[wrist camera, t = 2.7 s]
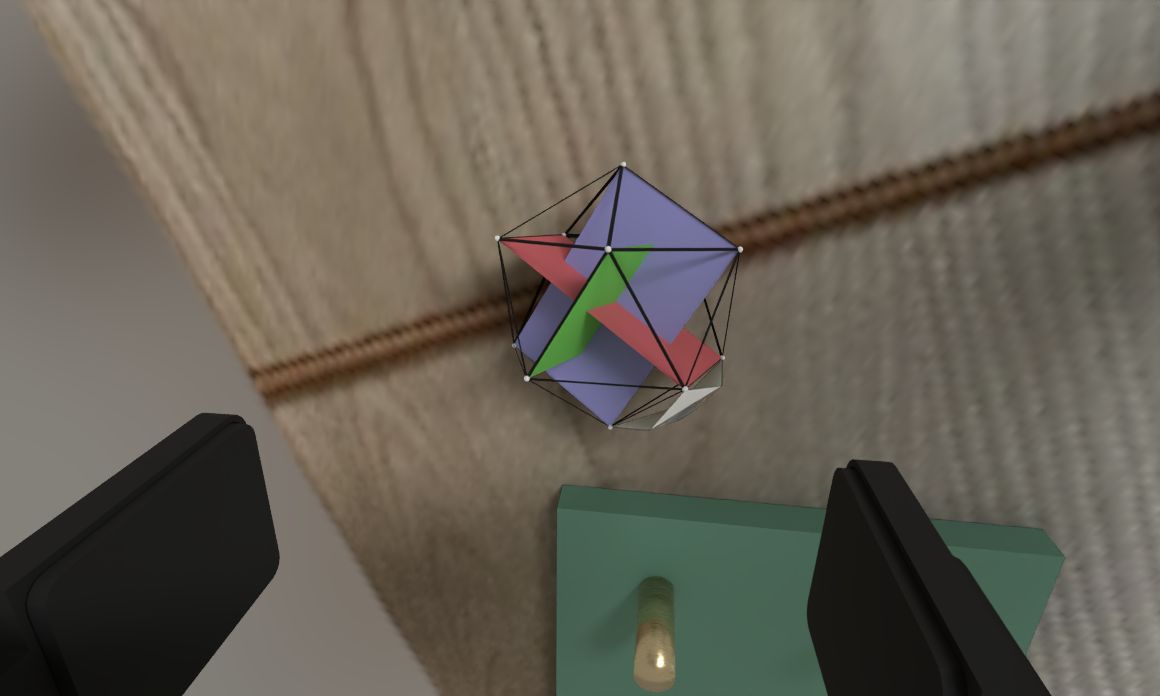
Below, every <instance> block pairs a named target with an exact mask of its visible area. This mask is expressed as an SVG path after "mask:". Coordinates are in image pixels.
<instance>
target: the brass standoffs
mask: <svg viewBox="0 0 1160 696" xmlns="http://www.w3.org/2000/svg"><path fill="white" fill-rule="evenodd" d="M634 680H635V682H636V683H637V684H638V685H639V686H640V687H641V688H643V689H645V690H647V691H651V692H662V691H666V690H668V689H670V688H671V687H672V686H673V685H674V683H675V605H674V587H673V585H672V583H671V582H670V581H669V580H667V579H665V578H663V577H659V576H651V577H648V578H646V579H644V580H643V581H642V582H641V583H640V585H639V593H638V610H637V627H636V644H635V660H634Z"/></svg>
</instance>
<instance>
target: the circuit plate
mask: <svg viewBox="0 0 1160 696" xmlns="http://www.w3.org/2000/svg"><path fill="white" fill-rule="evenodd" d="M825 514H826V509H818V508H807V507H796V506H786V505H775V504H764V503H753V502H742V501H732V500H721V499H710V498H699V497H688V496H678V495H667V494H656V493H645V492H634V491H624V490H613V489H602V488H591V487H581V486H570V485H563V487H562V491H561V495H560V499H559V503H558V507H557V640H556V696H828V695H827V691H826V688H825V684H824V681H823V677H822V674H821V670H820V667H819V663H818V660H817V656H816V653H815V649H814V646H813V643H812V639H811V636H810V632H809V628H808V623H807V602H808V597H809V592H810V587H811V583H812V578H813V573H814V568H815V563H816V558H817V553H818V548H819V544H820V539H821V534H822V529H823V524H824V519H825ZM930 521H931V522H932V524H933V525H934V527H935V528H936V530H937V532H938V533H939V535H940V536H941V538H942V539H943V541H944V543H945V544H946V546H947V547H948V549H949V550H950V552H951V553H952V555H953V556H955V557H957V558H959V559H960V560H961V561H962V562H963V563H964V564H965V565H966V566H967V568H968V569H969V571H970V572H971V574H972V575H973V577H974V578H975V580H976V581H977V583H978V584H979V586H980V588H981V589H982V591H983V592H984V594H985V595H986V597H987V598H988V600H989V601H990V603H991V604H992V606H993V607H994V609H995V610H996V612H997V613H998V615H999V616H1000V618H1001V620H1002V621H1003V623H1004V624H1005V626H1006V627H1007V629H1008V630H1009V632H1010V633H1011V635H1012V636H1013V638H1014V639H1015V641H1016V642H1017V644H1018V645H1019V647H1020V649H1021V650H1022V652H1023V653H1024V655H1026V652H1027V650H1028V648H1029V645H1030V643H1031V640H1032V638H1033V635H1034V633H1035V630H1036V628H1037V626H1038V623H1039V621H1040V618H1041V616H1042V613H1043V611H1044V608H1045V606H1046V604H1047V601H1048V599H1049V596H1050V594H1051V591H1052V589H1053V586H1054V584H1055V582H1056V579H1057V577H1058V574H1059V572H1060V569H1061V567H1062V564H1063V562H1064V560H1065V556H1064V555H1063V554H1062V552H1061V551H1060V550H1059V549H1058V548H1057V546H1056V545H1055V544H1054V543H1053V542H1052V540H1051V539H1050V538H1049V537H1048V536H1047V534H1046V533H1045V532H1044V531H1043V529H1034V528H1023V527H1012V526H1001V525H990V524H980V523H969V522H958V521H947V520H937V519H930ZM651 576H659V577H663V578H665V579H667V580H669V581H670V582H671V583H672V585H673V587H674V605H675V683H674V685H673V686H672V687H671V688H670V689H668V690H666V691H662V692H651V691H647V690H645V689H643V688H641V687H640V686H639V685H638V684H637V683H636V682H635V680H634V660H635V644H636V627H637V610H638V593H639V585H640V583H641V582H642V581H643V580H644V579H646V578H648V577H651Z"/></svg>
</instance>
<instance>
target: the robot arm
mask: <svg viewBox="0 0 1160 696" xmlns="http://www.w3.org/2000/svg"><path fill="white" fill-rule="evenodd" d="M279 558H280V557H279V550H278V544H277V540H276V535H275V530H274V525H273V520H272V515H271V510H270V505H269V500H268V495H267V491H266V485H265V480H264V475H263V470H262V466H261V461H260V456H259V451H258V446H257V441H256V436H255V432H254V429H253V428H252V427H251V426H250V425H247V424H246V422H245V421H244V419H243V418H242V417H240V416H238V415H230V414H215V413H201V414H199V415H197V416H195V417H194V418H193V419H192V420H190V421H189V422H187V423H186V424H184V425H183V426H182V427H180V428H179V429H177V430H176V431H175V432H173V433H172V434H170V435H169V436H168V437H166V438H165V439H163V440H162V441H161V442H159V443H158V444H157V445H155V446H154V447H153V448H151V449H150V450H148V451H147V452H145V453H144V454H143V455H141V456H140V457H139V458H137V459H136V460H134V461H133V462H132V463H130V464H129V465H127V466H126V467H125V468H123V469H122V470H121V471H119V472H118V473H116V474H115V475H114V476H112V477H111V478H110V479H108V480H107V481H105V482H104V483H102V484H101V485H100V486H98V487H97V488H96V489H94V490H93V491H91V492H90V493H89V494H87V495H86V496H85V497H83V498H82V499H80V500H79V501H78V502H77V503H75V504H73V505H72V506H71V507H69V508H68V509H67V510H65V511H64V512H62V513H61V514H59V515H58V516H57V517H55V518H54V519H53V520H51V521H50V522H48V523H47V524H46V525H44V526H43V527H41V528H40V529H39V530H37V531H36V532H34V533H33V534H32V535H30V536H29V537H28V538H26V539H25V540H23V541H22V542H21V543H19V544H18V545H17V546H15V547H14V548H12V549H11V550H10V551H8V552H7V553H5V554H4V555H3V556H1V557H0V696H182V695H183V694H184V693H185V691H186V690H187V689H188V687H189V686H190V685H191V684H192V682H193V681H194V680H195V678H196V677H197V676H198V674H199V673H200V672H201V670H202V669H203V668H204V667H205V665H206V664H207V663H208V662H209V660H210V659H211V658H212V656H213V655H214V654H215V652H216V651H217V650H218V649H219V647H220V646H221V645H222V643H223V642H224V641H225V639H226V638H227V637H228V636H229V634H230V633H231V632H232V630H233V629H234V628H235V627H236V625H237V624H238V623H239V621H240V620H241V618H243V616H244V615H245V614H246V612H247V611H248V610H249V608H250V607H251V606H252V605H253V603H254V602H255V601H256V599H257V598H258V597H259V595H260V594H261V593H262V592H263V590H264V589H265V588H266V586H267V585H268V584H269V582H270V581H271V580H272V579H273V577H274V575H275V574H276V571H277V569H278V565H279ZM807 623H808V628H809V632H810V636H811V639H812V643H813V646H814V649H815V653H816V656H817V660H818V663H819V667H820V670H821V674H822V677H823V681H824V684H825V688H826V691H827V695H828V696H1051V694H1050V693H1049V691H1048V690H1047V688H1046V687H1045V685H1044V684H1043V682H1042V681H1041V679H1040V677H1039V676H1038V674H1037V673H1036V671H1035V670H1034V668H1033V667H1032V665H1031V664H1030V662H1029V661H1028V659H1027V658H1026V656H1025V655H1024V653H1023V652H1022V650H1021V649H1020V647H1019V645H1018V644H1017V642H1016V641H1015V639H1014V638H1013V636H1012V635H1011V633H1010V632H1009V630H1008V629H1007V627H1006V626H1005V624H1004V623H1003V621H1002V620H1001V618H1000V616H999V615H998V613H997V612H996V610H995V609H994V607H993V606H992V604H991V603H990V601H989V600H988V598H987V597H986V595H985V594H984V592H983V591H982V589H981V588H980V586H979V584H978V583H977V581H976V580H975V578H974V577H973V575H972V574H971V572H970V571H969V569H968V568H967V566H966V565H965V564H964V563H963V562H962V561H961V560H960V559H959V558H957V557H955V556H953V555H952V553H951V552H950V550H949V549H948V547H947V546H946V544H945V543H944V541H943V539H942V538H941V536H940V535H939V533H938V532H937V530H936V528H935V527H934V525H933V524H932V522H931V521H930V519H929V518H928V516H927V514H926V513H925V511H924V510H923V508H922V507H921V505H920V504H919V502H918V500H917V499H916V497H915V496H914V494H913V493H912V491H911V490H910V488H909V486H908V485H907V483H906V482H905V480H904V479H903V477H902V475H901V474H900V472H899V471H898V469H897V468H896V466H895V465H894V464H893V463H891V462H882V461H868V460H854V459H852V460H851V461H849V463H848V465H847V467H846V468H837V469H836V471H835V472H834V476H833V480H832V485H831V490H830V495H829V500H828V504H827V509H826V514H825V519H824V524H823V529H822V534H821V539H820V544H819V548H818V553H817V558H816V563H815V568H814V573H813V578H812V583H811V587H810V592H809V597H808V602H807Z"/></svg>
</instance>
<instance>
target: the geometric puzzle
mask: <svg viewBox="0 0 1160 696" xmlns="http://www.w3.org/2000/svg"><path fill="white" fill-rule="evenodd" d="M617 168H618V169H617ZM617 168H615V169H617V170H616V172H615V173H614V174H613V175H612V176H611V178H610V179H609V180H608V181H607V183H606V184H605V185H604V186H603V187H602V189H601V190H600V191H599V192H598V193H597V195H596V196H595V197H594V198H593V199H592V201H591V202H590V203H589V204H588V206H587V207H586V208H585V209H584V210H583V212H582V213H581V214H580V215H579V216H578V218H577V219H576V220H575V221H574V223H573V224H572V225H571V226H570V227H569V229H568V230H567V231H566V232H565V233H562V234H561V235H542V236H524V237H506V238H501V237H503V236H505V235H506V234H508V233H510V232H511V231H513V230H515V229H516V228H518V227H520V226H521V225H523V224H525V223H526V222H528V221H530V220H531V219H533V218H535V217H536V216H538V215H540V214H541V213H543V212H545V211H546V210H548V209H550V208H552V207H553V206H555V205H557V204H558V203H560V202H562V201H563V200H565V199H567V198H568V197H570V196H572V195H573V194H575V193H577V192H578V191H580V190H582V189H583V188H585V187H587V186H588V185H590V184H592V183H593V182H595V181H597V180H599V179H600V178H602V177H604V176H605V175H607V174H609V173H610V172H612V171H614V170H615V169H613V170H612V171H610V172H608V173H607V174H605V175H603V176H602V177H600V178H598V179H597V180H595V181H593V182H592V183H590V184H588V185H587V186H585V187H583V188H582V189H580V190H578V191H576V192H575V193H573V194H571V195H570V196H568V197H566V198H565V199H563V200H561V201H560V202H558V203H556V204H555V205H553V206H551V207H550V208H548V209H546V210H545V211H543V212H541V213H540V214H538V215H536V216H535V217H533V218H531V219H529V220H528V221H526V222H524V223H523V224H521V225H519V226H518V227H516V228H514V229H513V230H511V231H509V232H508V233H506V234H504V235H503V236H501V237H499V236H495V241H497V242H498V248H499V255H500V261H501V267H502V274H503V280H504V287H505V293H506V299H507V306H508V312H509V318H510V325H511V331H512V337H513V344H512V347H513V348H515V350H516V348H518V349H519V350H520V351H521V356H522V361H523V366H524V369H523V367H522V369H523V371H525V372H524V374H525V377H524V380H525V381H530V380H538V381H552V382H557V383H559V384H560V385H561V386H562V387H563V388H564V389H566V390H567V391H568V392H569V393H570V394H572V395H573V396H574V397H575V398H576V399H577V400H579V401H580V402H581V403H582V404H583V405H584V406H586V407H587V408H588V409H589V410H590V411H591V412H593V413H594V414H595V415H596V416H597V417H599V418H600V419H601V420H602V421H603V422H604V424H605V423H606V424H605V425H607V426H608V429H612V428H613V427H614V428H625V429H636V430H648V431H649V430H651V429H653V428H654V427H656V426H657V425H659V424H661V423H662V422H664V421H666V420H667V419H668V420H667V422H666V424H668V423H672V422H676V421H678V420H680V419H682V418H683V417H685V416H687V415H688V414H690V413H692V412H693V411H695V410H696V409H697V408H698V407H699V405H700V404H701V403H703V402H704V401H705V400H706V399H707V398H708V397H710V396H711V395H712V394H713V393H714V392H713V393H712V394H711V395H710V396H708V397H707V398H706V399H705V400H703V401H702V402H699V403H695V402H696V401H698V400H700V399H701V398H703V397H704V396H706V395H708V394H709V393H711V392H712V391H714V390H716V389H717V388H718V389H719V387H721V386H722V364H723V360H724V359H725V356H724V355H723V353H722V352H721V349H720V346H719V342H718V339H717V335H716V332H715V329H714V325H713V322H712V321H713V318H714V316H715V313H716V311H717V308H718V306H719V303H720V301H721V298H722V296H723V293H724V290H725V288H726V285H727V283H728V280H729V278H730V275H731V273H732V270H733V268H734V265H735V262H736V260H737V257H738V261H739V255H740V253H741V252H742V251H743V248H742V247H737V246H736V245H734V244H733V243H732V242H730V241H729V240H727V239H726V238H725V237H723V236H722V235H720V234H719V233H718V232H716V231H715V230H713V229H712V228H711V227H709V226H708V225H706V224H705V223H704V222H702V221H701V220H699V219H698V218H697V217H695V216H694V215H693V214H691V213H690V212H688V211H687V210H686V209H684V208H683V207H681V206H680V205H679V204H677V203H676V202H674V201H673V200H672V199H670V198H669V197H667V196H666V195H665V194H663V193H662V192H660V191H659V190H658V189H656V188H655V187H654V186H652V185H651V184H649V183H648V182H647V181H645V180H644V179H642V178H641V177H640V176H638V175H637V174H635V173H634V172H633V171H631V170H630V169H628V168H627V167H626V163H625V162H622V163H621V165H620V166H618V167H617ZM613 178H614V179H613ZM612 180H613V181H612ZM611 181H612V182H611ZM610 182H611V184H610V186H609V187H608V189H607V191H606V192H605V194H604V196H603V197H602V199H601V201H600V202H599V204H598V206H597V207H596V209H595V211H594V212H593V214H592V216H591V217H590V219H589V221H588V222H587V224H586V226H585V227H584V229H583V231H582V232H581V234H568V232H569V231H570V230H571V229H572V228H573V226H574V225H575V224H576V223H577V222H578V220H579V219H580V218H581V217H582V216H583V214H584V213H585V212H586V211H587V210H588V208H589V207H590V206H591V205H592V204H593V202H594V201H595V200H596V199H597V198H598V196H599V195H600V194H601V193H602V192H603V190H604V189H605V188H606V187H607V186H608V184H609V183H610ZM567 237H578V239H577V241H576V242H575V243H574V242H572V241H571V240H570V239H568V238H567ZM499 241H500V242H502V243H503V244H504V245H505V246H507V247H508V248H509V249H510V250H512V251H513V252H514V253H515V254H516V255H518V256H519V257H520V258H521V259H523V260H524V261H525V262H526V263H528V264H529V265H530V266H531V267H533V268H534V269H535V270H536V271H538V272H539V273H540V274H541V275H543V276H544V277H543V280H542V282H541V284H540V286H539V288H538V291H537V293H536V295H535V297H534V299H533V302H532V304H531V306H530V308H529V310H528V313H527V315H526V317H525V319H524V321H523V324H522V326H521V328H520V330H519V332H518V330H517V326H516V321H515V316H514V311H513V307H512V302H511V297H510V292H509V288H508V283H507V278H506V273H505V269H504V264H503V259H502V254H501V250H500V245H499ZM735 256H736V257H735ZM734 257H735V260H734V262H733V265H732V267H731V270H730V272H729V275H728V278H727V280H726V283H725V285H724V288H723V290H722V293H721V295H720V298H719V300H718V303H717V305H716V308H715V311H714V313H713V316H712V318H711V315H710V312H709V309H708V305H707V302H706V299H705V297H706V296H707V294H708V293H709V291H710V290H711V289H712V287H713V286H714V285H715V283H716V282H717V280H718V279H719V278H720V276H721V275H722V274H723V272H724V271H725V270H726V268H727V267H728V265H729V264H730V263H731V261H732V260H733V259H734ZM738 261H737V267H738ZM737 267H736V273H737ZM503 270H504V271H503ZM736 273H735V280H736ZM504 275H505V278H504ZM545 279H548V280H549V281H550V282H551V284H550V285H549V287H548V289H547V290H546V292H545V294H544V295H543V297H542V299H541V300H540V302H539V304H538V305H537V307H536V309H535V310H534V312H533V314H532V315H531V317H530V319H529V320H528V322H527V324H526V325H525V323H526V321H527V319H528V317H529V314H530V312H531V310H532V308H533V306H534V303H535V301H536V299H537V297H538V295H539V292H540V290H541V288H542V286H543V284H544V281H545ZM505 280H506V284H505ZM735 280H734V286H735ZM506 285H507V289H508V294H509V299H510V304H511V309H512V313H513V318H514V323H515V328H516V332H517V337H516V339H515V341H514V336H513V329H512V323H511V316H510V310H509V304H508V297H507V291H506ZM734 286H733V292H734ZM733 292H732V298H733ZM732 298H731V304H732ZM703 300H704V302H705V306H706V309H707V312H708V316H709V319H710V323H709V326H708V328H707V331H706V333H705V336H704V338H703V341H702V342H701V341H700V340H699V339H697V338H696V337H695V336H694V335H692V334H691V333H690V332H688V331H687V330H686V329H684V328H683V327H684V326H685V324H686V323H687V321H688V320H689V319H690V317H691V316H692V315H693V313H694V312H695V311H696V309H697V308H698V306H699V305H700V304H701V302H702V301H703ZM731 304H730V310H731ZM730 310H729V316H730ZM729 316H728V322H729ZM728 322H727V328H728ZM524 325H525V327H524ZM710 326H712V329H713V333H714V336H715V339H716V343H717V346H718V349H719V353H720V356H719V355H718V354H717V353H715V352H714V351H713V350H712V349H710V348H709V347H708V346H706V345H705V344H704V341H705V339H706V336H707V334H708V331H709V329H710ZM523 328H524V329H523ZM726 334H727V329H726ZM725 340H726V335H725ZM724 346H725V341H724ZM723 352H724V347H723ZM516 353H517V351H516ZM522 353H523V354H525V355H526V356H527V357H528V358H529V359H530V360H532V361H533V362H534V363H535V364H534V365H533V367H532V368H531V370H530V371H529V373H528V375H527V373H526V369H525V364H524V359H523V354H522ZM517 355H518V353H517ZM518 358H519V356H518ZM519 361H520V359H519ZM718 361H719V362H718ZM717 362H718V363H717ZM520 363H521V361H520ZM716 363H717V364H716ZM715 364H716V365H715ZM714 365H715V366H714ZM521 366H522V364H521ZM655 366H656V367H657V368H658V369H660V370H661V371H662V372H663V373H664V374H666V375H667V376H668V377H669V378H671V379H672V380H673V381H674V382H676V383H677V385H676V386H678V385H679V386H681V387H682V388H675V387H676V386H674V387H673V388H669V387H654V386H641V384H642V383H643V382H644V380H645V379H646V378H647V376H648V375H649V373H650V372H651V371H652V369H653V368H654V367H655ZM713 366H714V367H713ZM711 367H713V368H712V370H711V371H710V372H709V373H708V374H707V375H706V376H705V377H704V378H703V379H702V380H701V381H700V382H699V383H698V384H697V385H696V386H695V387H694V388H693V389H689V390H688V387H689V386H690V385H692V384H693V383H694V382H695V381H696V380H697V379H699V378H700V377H701V376H702V375H703V374H704V373H706V372H707V371H708V370H709V369H710V368H711ZM543 371H545V372H546V373H547V374H548V375H549V376H550V377H552V378H553V379H554V380H552V379H538V378H530V377H532V376H534V375H537V374H539V373H541V372H543ZM531 382H532V381H531ZM532 383H534V382H532ZM534 384H536V383H534ZM536 385H537V384H536ZM538 386H539V385H538ZM539 387H541V386H539ZM541 388H543V387H541ZM638 388H654V389H668V391H670V390H682V391H683V393H682V394H681V395H680V396H679V397H678V399H677V400H676V401H675V402H674V403H673V404H672V405H671V406H670V408H669V409H668V410H665V411H662V412H659V413H655V414H652V415H649V416H645V417H642V418H639V419H635V420H632V421H629V422H626V423H622V424H619V425H616V424H618V423H620V422H622V421H624V420H626V419H628V418H630V417H632V416H634V415H636V414H638V413H640V412H642V411H644V410H646V409H648V408H650V407H652V406H654V405H656V404H658V403H660V402H662V401H664V400H666V399H668V398H670V397H672V396H674V395H676V394H678V393H680V392H682V391H680V392H678V393H676V394H674V395H672V396H670V397H668V398H666V399H664V400H662V401H660V402H658V403H656V404H654V405H652V406H650V407H648V408H646V409H644V410H642V411H640V412H638V413H636V414H634V415H632V416H630V417H628V416H629V415H631V414H633V413H634V412H636V411H637V410H639V409H641V408H642V407H644V406H646V405H647V404H649V403H650V402H652V401H654V400H655V399H657V398H659V397H660V396H662V395H663V394H665V393H667V392H668V391H666V392H664V393H663V394H661V395H660V396H658V397H656V398H655V399H653V400H651V401H650V402H648V403H647V404H645V405H643V406H642V407H640V408H638V409H637V410H635V411H634V412H632V413H630V414H629V415H627V416H625V417H624V418H626V417H628V418H626V419H624V418H622V419H621V420H622V421H621V420H619V421H617V422H616V423H614V421H615V420H616V419H617V417H618V416H619V414H620V413H621V412H622V410H623V409H624V408H625V406H626V405H627V403H628V402H629V401H630V399H631V398H632V397H633V395H634V394H635V393H636V391H637V390H638ZM543 389H544V388H543ZM718 389H717V390H718ZM544 390H546V389H544ZM546 391H548V390H546ZM548 392H550V391H548ZM550 393H551V392H550ZM551 394H553V393H551ZM553 395H555V394H553ZM555 396H556V395H555ZM557 397H558V396H557ZM558 398H560V397H558ZM560 399H562V398H560ZM562 400H563V399H562ZM564 401H565V400H564ZM565 402H567V401H565ZM567 403H569V402H567ZM693 403H694V404H693ZM569 404H570V403H569ZM571 405H572V404H571ZM572 406H574V405H572ZM574 407H576V406H574ZM576 408H577V407H576ZM578 409H579V408H578ZM579 410H581V409H579ZM581 411H583V410H581ZM583 412H584V411H583ZM585 413H586V412H585ZM586 414H588V413H586ZM588 415H589V414H588ZM590 416H591V415H590ZM592 417H593V416H592ZM593 418H595V417H593ZM595 419H596V418H595ZM623 419H624V420H623ZM597 420H598V419H597ZM598 421H600V420H598ZM602 421H600V422H602ZM603 422H602V423H603ZM613 423H614V424H613ZM614 425H616V426H614ZM664 425H665V424H664ZM661 426H662V425H661ZM659 427H660V426H659ZM654 429H655V428H654Z"/></svg>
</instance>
